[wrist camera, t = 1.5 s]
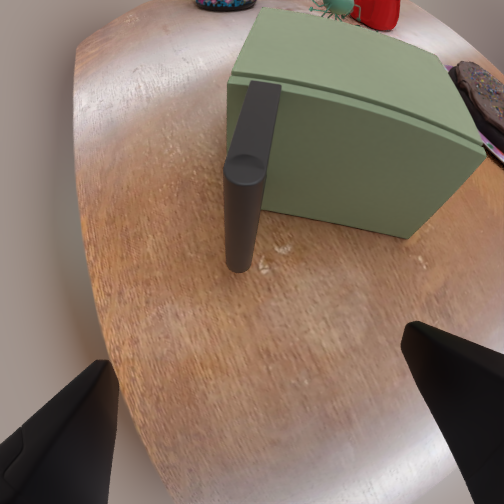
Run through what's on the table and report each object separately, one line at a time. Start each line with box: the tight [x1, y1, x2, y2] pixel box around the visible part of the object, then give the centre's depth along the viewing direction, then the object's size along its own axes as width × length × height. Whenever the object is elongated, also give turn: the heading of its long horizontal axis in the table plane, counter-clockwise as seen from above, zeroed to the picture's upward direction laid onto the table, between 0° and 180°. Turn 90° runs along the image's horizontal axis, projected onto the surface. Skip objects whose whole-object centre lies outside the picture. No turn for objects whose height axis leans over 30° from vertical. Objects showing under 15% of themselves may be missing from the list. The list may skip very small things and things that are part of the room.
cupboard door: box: [223, 76, 487, 273], centre depth 18 cm, size 8×16×12 cm, turn 81°
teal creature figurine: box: [309, 0, 378, 32], centre depth 34 cm, size 10×18×15 cm, turn 51°
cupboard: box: [231, 7, 483, 146], centre depth 22 cm, size 12×16×12 cm
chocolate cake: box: [443, 61, 504, 164], centre depth 33 cm, size 28×28×7 cm
